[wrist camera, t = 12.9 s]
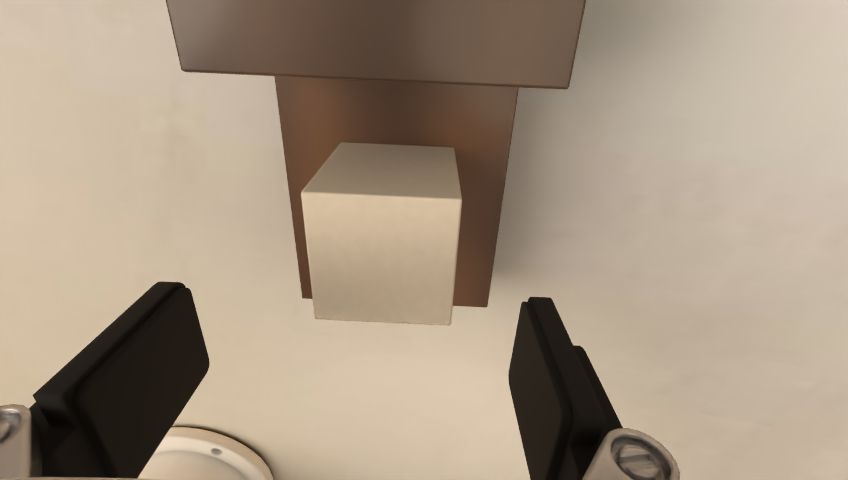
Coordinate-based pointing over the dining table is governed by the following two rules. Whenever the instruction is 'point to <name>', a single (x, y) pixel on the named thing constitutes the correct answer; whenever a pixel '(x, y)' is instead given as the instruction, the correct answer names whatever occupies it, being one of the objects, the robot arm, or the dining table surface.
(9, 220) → the dining table surface
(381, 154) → the block
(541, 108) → the dining table surface
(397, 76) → the step shelf
